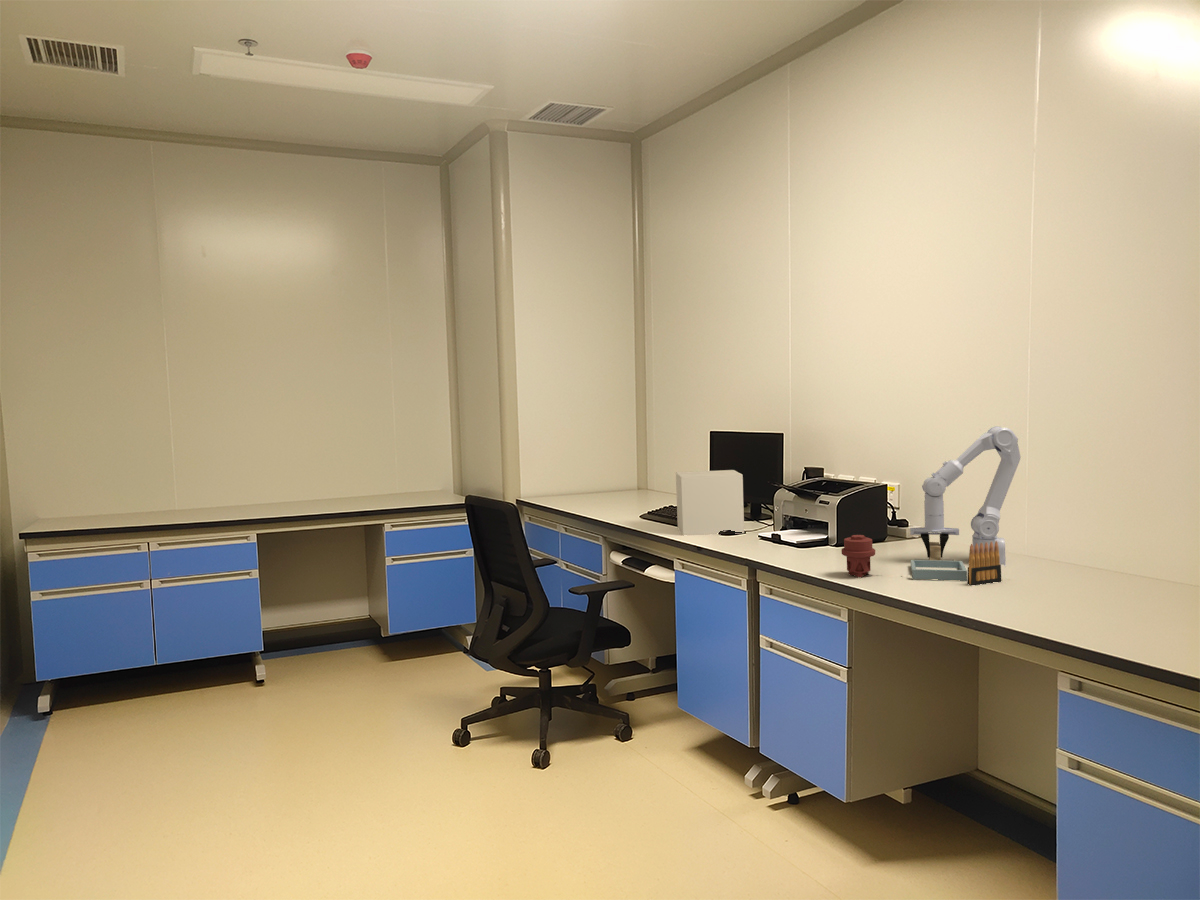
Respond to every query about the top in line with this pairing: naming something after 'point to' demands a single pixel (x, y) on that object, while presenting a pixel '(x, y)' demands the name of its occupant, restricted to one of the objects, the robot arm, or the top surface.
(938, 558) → the wooden block
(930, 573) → the bin
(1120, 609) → the top surface
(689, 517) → the cube
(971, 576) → the ammunition clip
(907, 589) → the top surface
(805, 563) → the top surface
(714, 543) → the top surface
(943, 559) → the mounting plate
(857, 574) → the mechanical component
